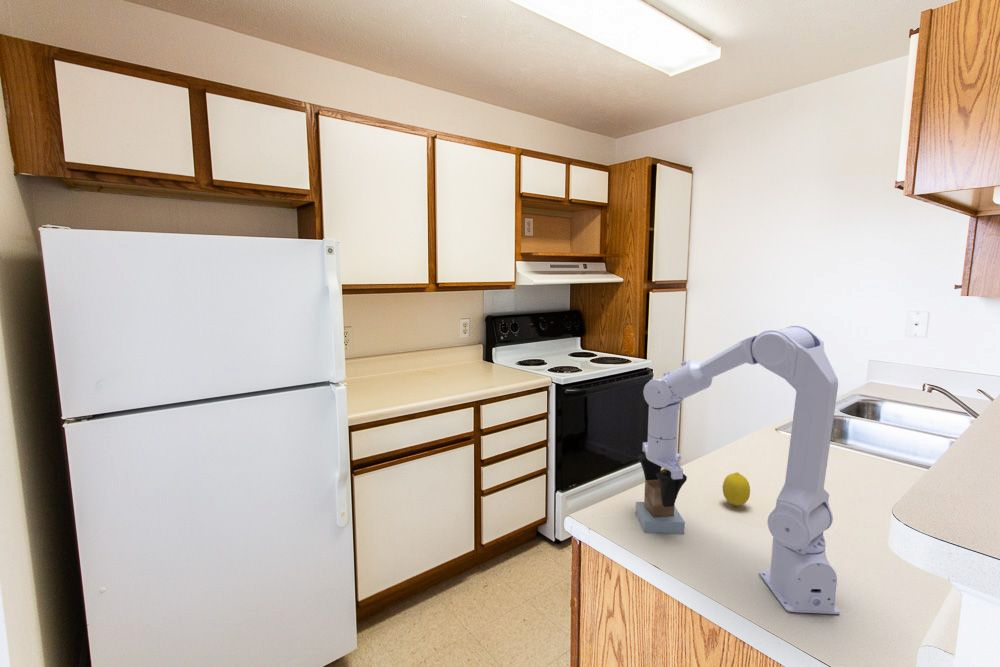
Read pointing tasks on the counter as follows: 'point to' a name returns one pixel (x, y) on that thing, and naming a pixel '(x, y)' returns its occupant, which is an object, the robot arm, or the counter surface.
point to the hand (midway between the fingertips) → (659, 496)
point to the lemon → (736, 489)
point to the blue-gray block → (659, 521)
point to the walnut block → (655, 500)
